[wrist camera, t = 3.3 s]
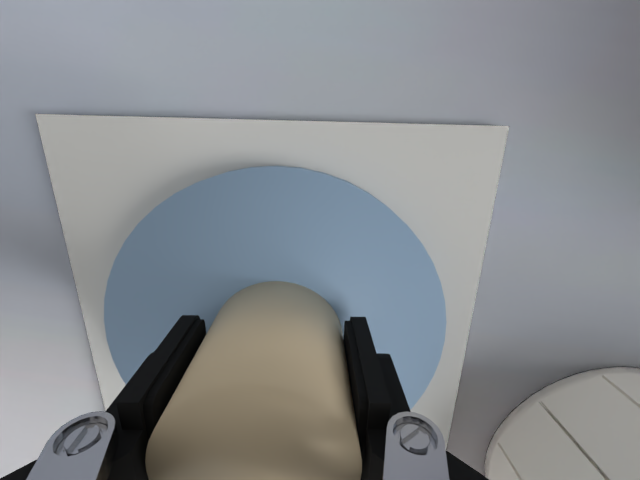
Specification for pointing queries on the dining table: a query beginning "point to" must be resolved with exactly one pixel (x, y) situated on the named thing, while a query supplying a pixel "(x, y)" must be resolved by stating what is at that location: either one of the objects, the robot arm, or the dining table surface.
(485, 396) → the dining table surface
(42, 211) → the dining table surface
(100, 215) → the mat
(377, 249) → the lid
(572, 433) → the bowl
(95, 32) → the dining table surface
